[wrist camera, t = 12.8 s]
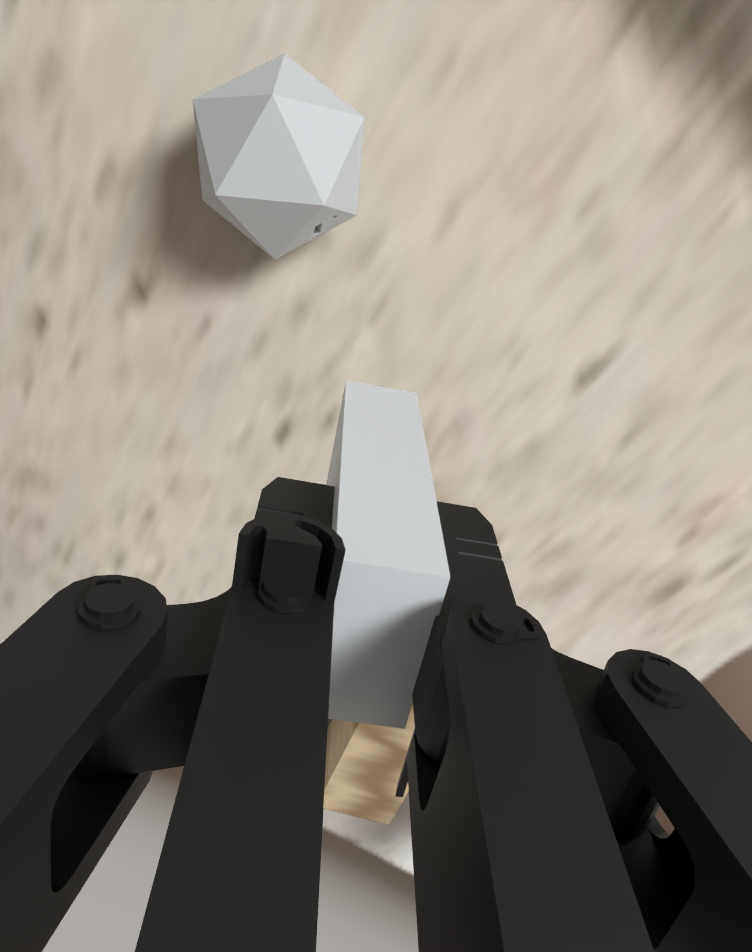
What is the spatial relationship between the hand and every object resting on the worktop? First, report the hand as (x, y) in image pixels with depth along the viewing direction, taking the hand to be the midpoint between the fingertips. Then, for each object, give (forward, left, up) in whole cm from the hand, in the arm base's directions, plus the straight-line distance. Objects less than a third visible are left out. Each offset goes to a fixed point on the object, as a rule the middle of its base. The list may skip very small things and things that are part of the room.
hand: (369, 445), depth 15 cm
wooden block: (+10, -27, -26) cm, 38 cm away
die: (-5, +3, -30) cm, 30 cm away
